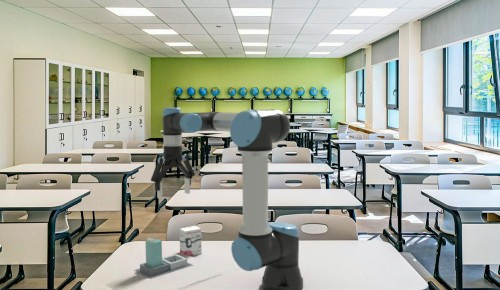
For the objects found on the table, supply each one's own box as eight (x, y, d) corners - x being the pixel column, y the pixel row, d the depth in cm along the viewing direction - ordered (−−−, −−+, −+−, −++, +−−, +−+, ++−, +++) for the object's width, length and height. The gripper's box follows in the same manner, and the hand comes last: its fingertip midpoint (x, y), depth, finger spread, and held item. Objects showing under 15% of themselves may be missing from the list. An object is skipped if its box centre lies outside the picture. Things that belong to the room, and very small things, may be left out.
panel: (193, 268, 188) (193, 259, 187) (150, 281, 174) (150, 272, 174) (176, 260, 196) (176, 252, 196) (134, 273, 183) (133, 264, 182)
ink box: (184, 257, 200) (183, 231, 198) (179, 254, 204) (178, 228, 202) (202, 254, 204) (201, 228, 203) (196, 250, 208) (196, 225, 207)
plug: (162, 270, 182) (161, 238, 181) (152, 273, 179) (151, 241, 177) (156, 267, 185) (155, 235, 184) (146, 270, 182) (145, 238, 181)
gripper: (191, 142, 202) (192, 190, 205) (141, 146, 185) (142, 198, 187) (202, 143, 197) (203, 192, 199) (151, 148, 180) (152, 201, 182)
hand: (173, 195), depth 193 cm, fingers open, 13 cm apart
